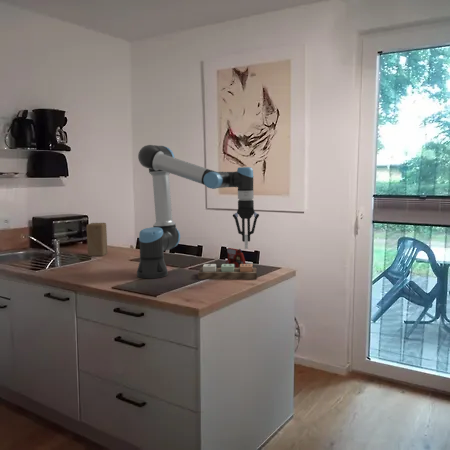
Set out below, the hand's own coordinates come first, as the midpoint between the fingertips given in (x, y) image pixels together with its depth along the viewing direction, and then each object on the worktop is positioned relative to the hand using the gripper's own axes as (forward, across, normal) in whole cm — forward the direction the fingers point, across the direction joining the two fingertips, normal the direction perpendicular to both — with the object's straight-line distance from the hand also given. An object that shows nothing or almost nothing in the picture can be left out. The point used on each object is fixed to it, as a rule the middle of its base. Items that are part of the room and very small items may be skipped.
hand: (246, 248), depth 218 cm
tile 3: (+12, 0, 0) cm, 12 cm away
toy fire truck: (+14, -6, +20) cm, 25 cm away
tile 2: (+12, -9, 0) cm, 15 cm away
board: (+14, -9, 0) cm, 17 cm away
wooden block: (+14, -95, +58) cm, 112 cm away
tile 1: (+12, -18, 0) cm, 22 cm away
